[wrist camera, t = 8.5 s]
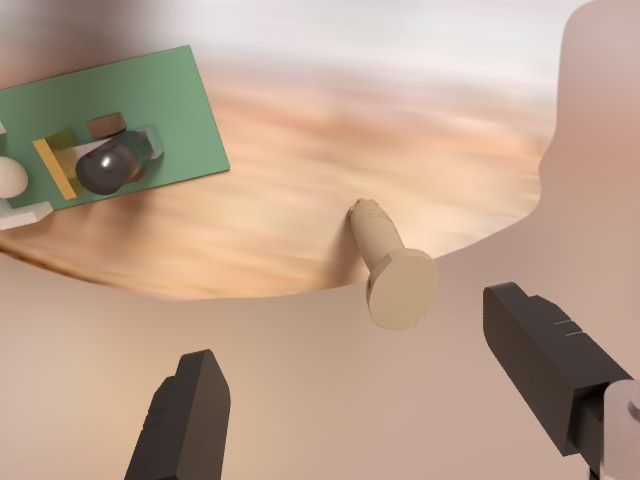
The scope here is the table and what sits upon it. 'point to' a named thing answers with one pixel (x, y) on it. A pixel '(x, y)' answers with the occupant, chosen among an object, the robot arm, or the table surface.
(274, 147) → the table surface
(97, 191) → the long multicoloured device
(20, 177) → the ball
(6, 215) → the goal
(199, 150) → the pitch
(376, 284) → the handle
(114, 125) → the brown cardboard carton
